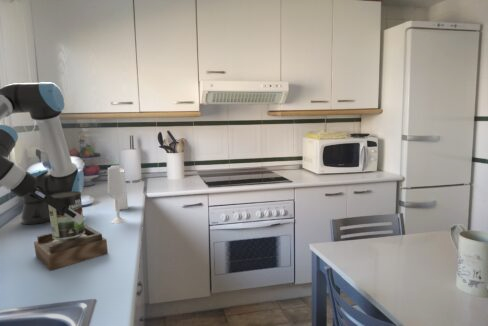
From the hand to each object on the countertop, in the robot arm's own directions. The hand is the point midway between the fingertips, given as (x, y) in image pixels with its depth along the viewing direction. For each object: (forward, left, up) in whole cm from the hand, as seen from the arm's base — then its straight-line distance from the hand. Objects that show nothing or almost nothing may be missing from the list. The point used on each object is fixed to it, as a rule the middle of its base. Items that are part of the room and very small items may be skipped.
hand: (76, 218), depth 127 cm
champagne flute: (-33, -13, -12) cm, 38 cm away
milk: (-51, -28, -12) cm, 60 cm away
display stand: (+3, -1, -12) cm, 13 cm away
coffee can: (+3, -1, -5) cm, 6 cm away
